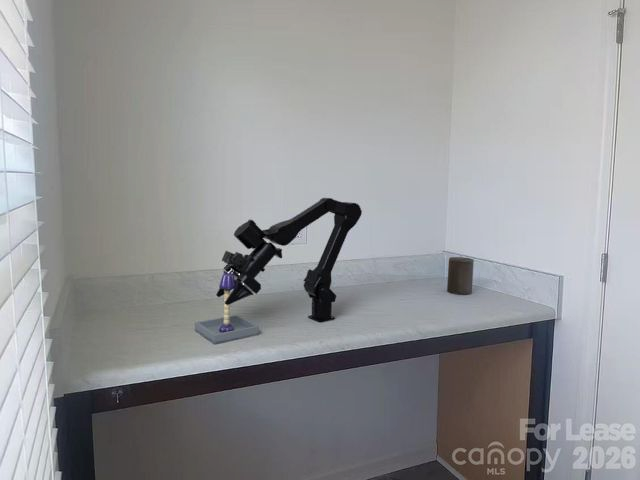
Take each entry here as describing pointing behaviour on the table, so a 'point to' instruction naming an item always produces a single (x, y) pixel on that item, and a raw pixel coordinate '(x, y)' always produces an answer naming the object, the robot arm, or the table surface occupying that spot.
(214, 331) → the desk tray
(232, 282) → the toy lamp
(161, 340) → the table surface
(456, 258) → the pillar candle
